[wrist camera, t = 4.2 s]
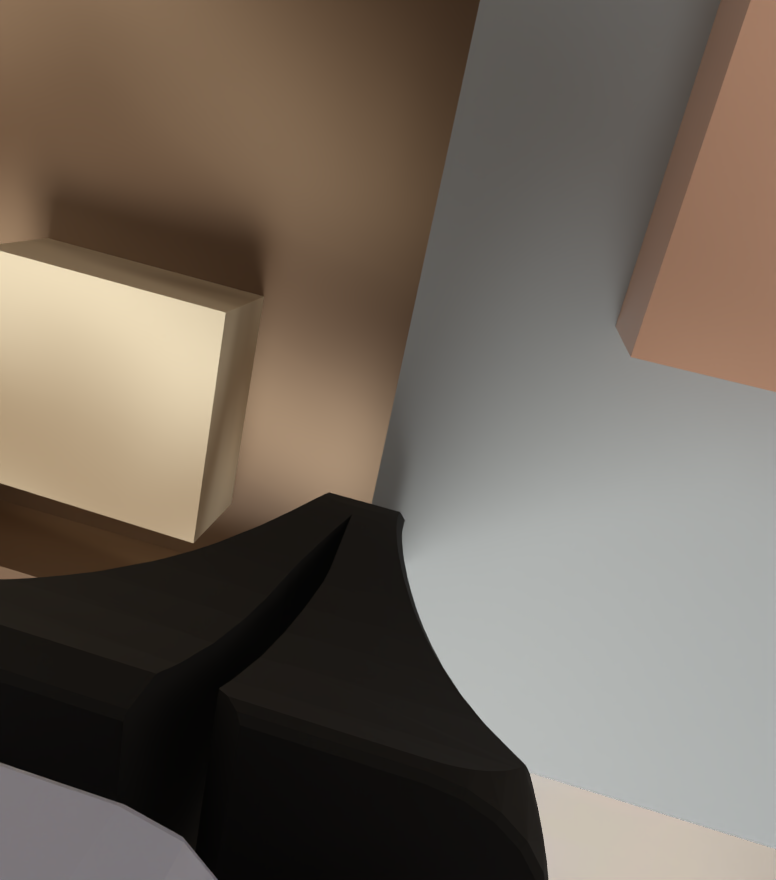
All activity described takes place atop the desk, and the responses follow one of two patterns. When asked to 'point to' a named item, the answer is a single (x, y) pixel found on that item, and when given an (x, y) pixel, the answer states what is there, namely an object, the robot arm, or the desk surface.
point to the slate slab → (584, 435)
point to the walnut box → (239, 213)
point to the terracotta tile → (716, 217)
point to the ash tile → (122, 385)
